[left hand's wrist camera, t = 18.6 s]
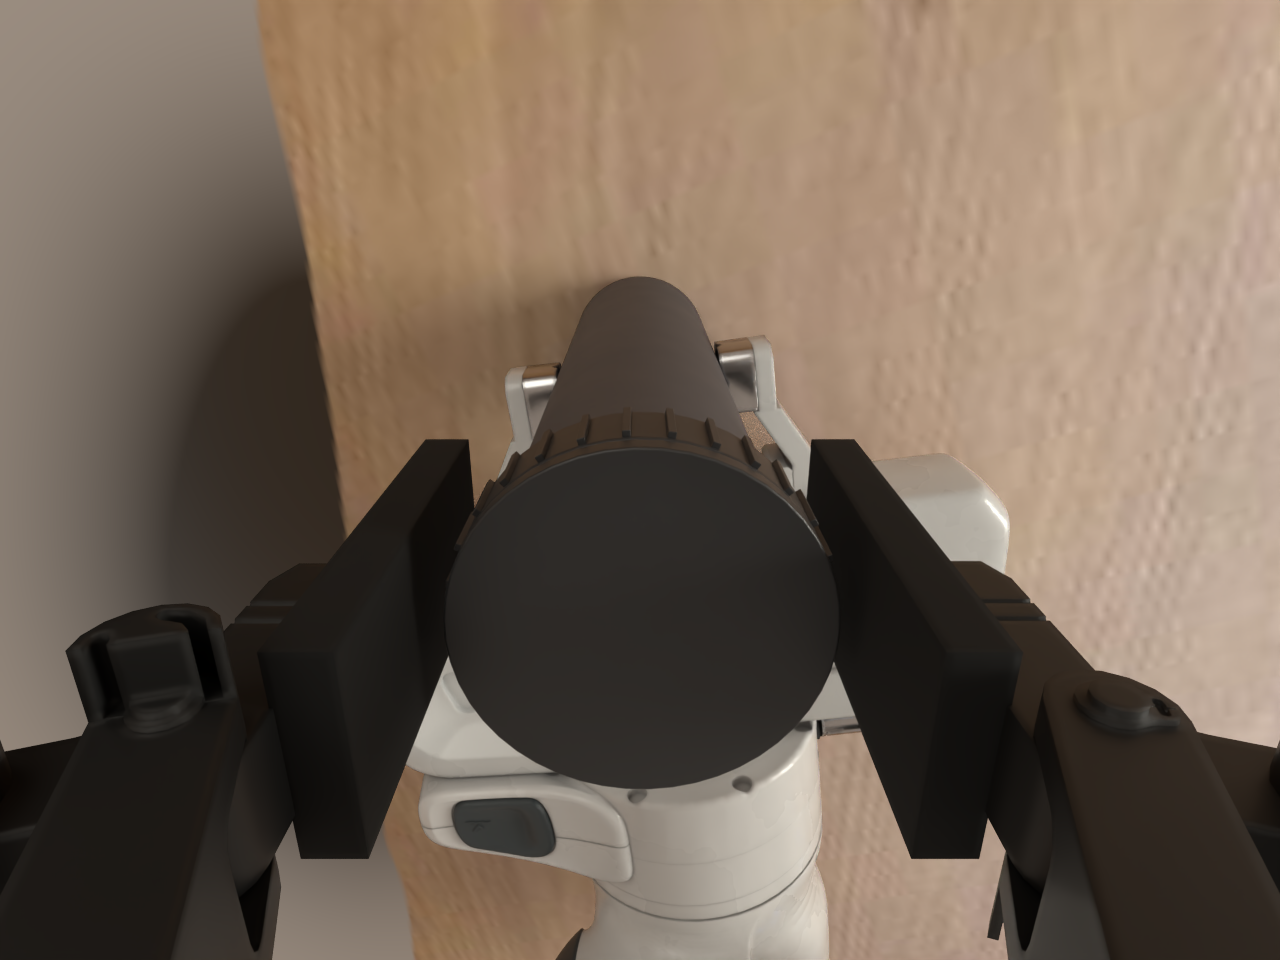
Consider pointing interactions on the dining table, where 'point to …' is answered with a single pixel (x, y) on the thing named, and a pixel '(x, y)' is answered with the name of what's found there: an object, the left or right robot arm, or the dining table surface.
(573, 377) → the dark grey cylinder
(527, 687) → the lid
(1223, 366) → the dining table surface
